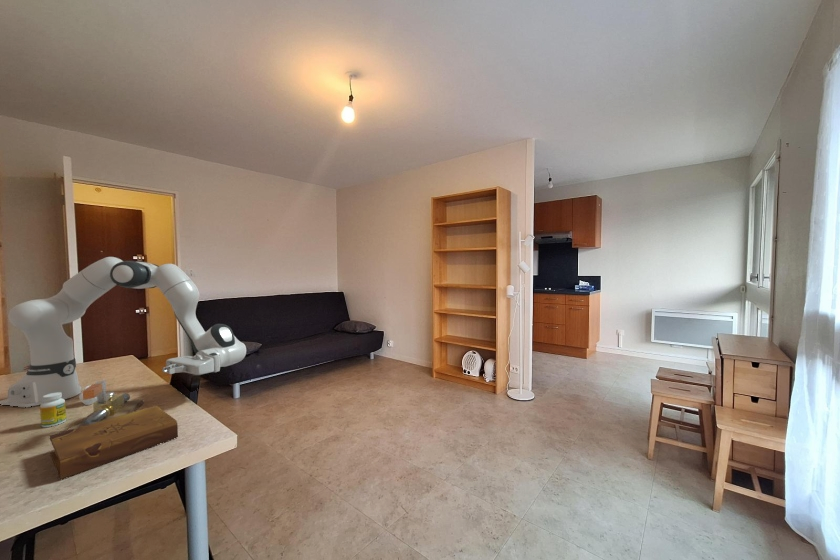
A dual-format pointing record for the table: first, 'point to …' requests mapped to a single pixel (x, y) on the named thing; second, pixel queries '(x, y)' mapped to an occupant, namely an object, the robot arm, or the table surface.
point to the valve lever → (98, 392)
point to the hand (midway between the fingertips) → (166, 371)
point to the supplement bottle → (52, 410)
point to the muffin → (87, 401)
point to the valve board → (128, 408)
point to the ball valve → (107, 408)
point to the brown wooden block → (110, 440)
